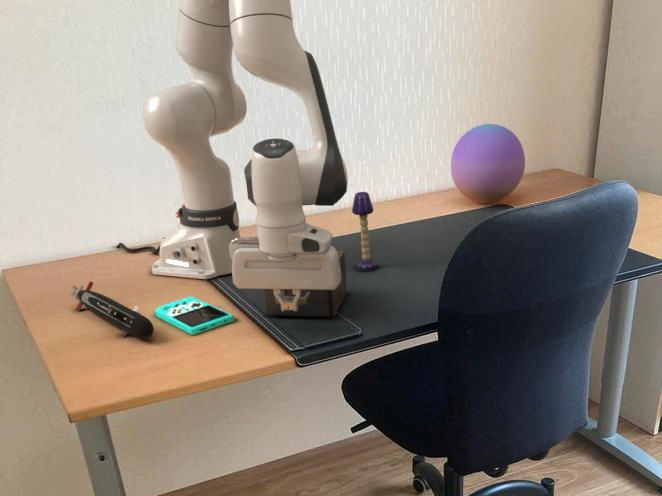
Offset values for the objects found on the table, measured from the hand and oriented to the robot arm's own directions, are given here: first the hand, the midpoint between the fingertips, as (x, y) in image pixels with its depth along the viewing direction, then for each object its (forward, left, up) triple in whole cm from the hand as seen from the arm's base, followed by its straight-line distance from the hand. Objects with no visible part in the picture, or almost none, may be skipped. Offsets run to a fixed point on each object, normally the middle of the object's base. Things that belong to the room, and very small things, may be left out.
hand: (290, 310), depth 158 cm
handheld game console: (-22, +6, -5) cm, 23 cm away
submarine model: (-39, +2, -5) cm, 39 cm away
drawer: (0, +10, -3) cm, 11 cm away
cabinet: (0, +14, -4) cm, 15 cm away
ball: (+32, +93, -5) cm, 98 cm away
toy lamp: (+8, +37, -5) cm, 38 cm away
